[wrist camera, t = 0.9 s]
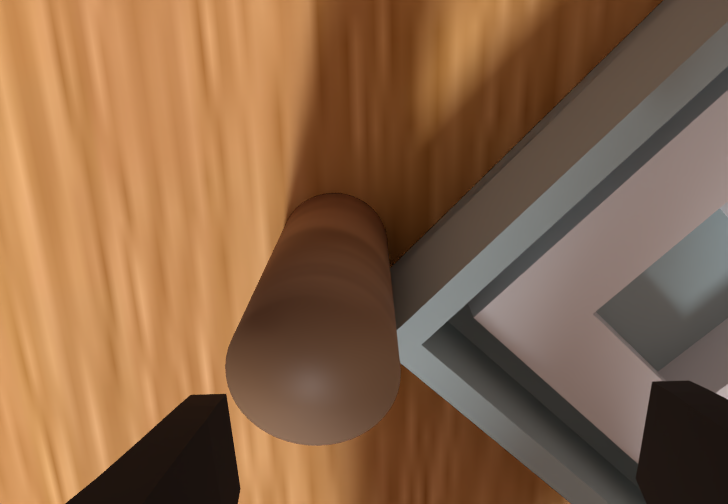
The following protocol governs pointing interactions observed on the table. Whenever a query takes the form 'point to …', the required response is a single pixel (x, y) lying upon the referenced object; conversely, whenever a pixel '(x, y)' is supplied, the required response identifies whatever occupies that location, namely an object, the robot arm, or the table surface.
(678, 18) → the bore box
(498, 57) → the table surface
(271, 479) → the table surface
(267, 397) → the peg
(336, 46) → the table surface
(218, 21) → the table surface
